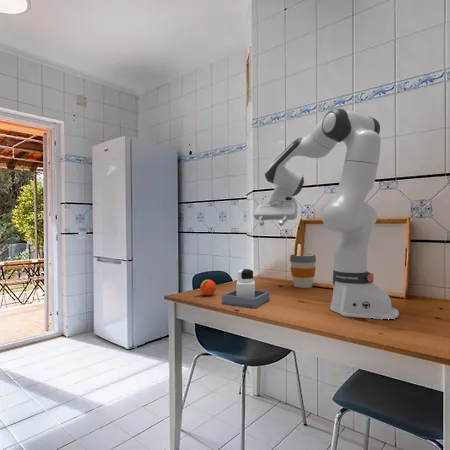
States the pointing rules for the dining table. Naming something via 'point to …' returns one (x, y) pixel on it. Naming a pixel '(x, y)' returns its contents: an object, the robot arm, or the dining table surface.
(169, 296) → the dining table surface
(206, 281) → the clementine
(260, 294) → the tray
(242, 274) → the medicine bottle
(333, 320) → the dining table surface
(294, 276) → the reusable coffee cup
